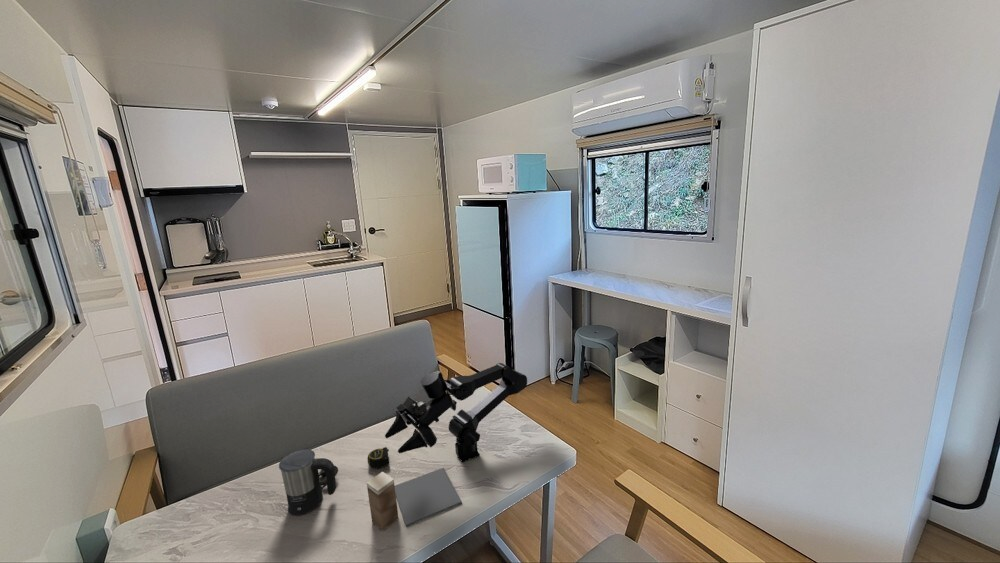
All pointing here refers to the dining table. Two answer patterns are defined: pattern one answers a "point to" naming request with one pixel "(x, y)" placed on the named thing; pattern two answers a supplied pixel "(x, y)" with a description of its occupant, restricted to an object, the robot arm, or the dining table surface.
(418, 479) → the charcoal mat
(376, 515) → the wooden block
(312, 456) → the milk frother
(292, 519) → the dining table surface
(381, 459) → the tape measure
